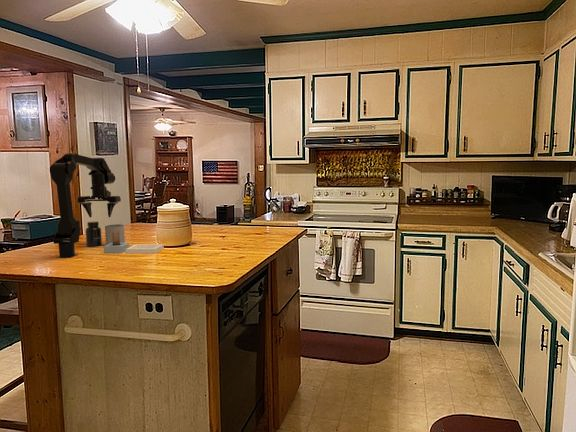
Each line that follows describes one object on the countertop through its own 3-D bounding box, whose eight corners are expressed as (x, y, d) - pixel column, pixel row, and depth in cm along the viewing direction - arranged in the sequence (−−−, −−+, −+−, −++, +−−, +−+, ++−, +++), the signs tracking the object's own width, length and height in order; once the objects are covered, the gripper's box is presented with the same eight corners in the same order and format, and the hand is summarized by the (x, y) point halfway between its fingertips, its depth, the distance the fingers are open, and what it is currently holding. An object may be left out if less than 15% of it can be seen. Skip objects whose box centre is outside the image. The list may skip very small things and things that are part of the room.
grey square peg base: (121, 254, 190) (121, 246, 190) (103, 254, 191) (103, 246, 190) (129, 250, 198) (128, 242, 198) (112, 250, 199) (111, 242, 198)
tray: (155, 254, 189) (154, 249, 188) (125, 254, 189) (125, 249, 189) (163, 249, 200) (163, 244, 199) (135, 249, 200) (135, 244, 200)
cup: (128, 244, 212) (126, 224, 211) (120, 248, 204) (118, 226, 203) (111, 244, 213) (110, 224, 212) (102, 248, 205) (101, 226, 204)
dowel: (118, 251, 193) (117, 231, 192) (112, 251, 193) (110, 231, 192) (121, 250, 196) (120, 230, 195) (115, 250, 196) (113, 230, 195)
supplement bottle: (98, 248, 205) (96, 222, 203) (83, 248, 205) (82, 223, 203) (104, 245, 212) (103, 220, 210) (90, 245, 212) (89, 221, 210)
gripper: (124, 183, 214) (126, 215, 216) (87, 184, 215) (89, 215, 217) (114, 184, 203) (116, 217, 205) (75, 185, 204) (77, 218, 206)
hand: (100, 217), depth 208 cm, fingers open, 9 cm apart
